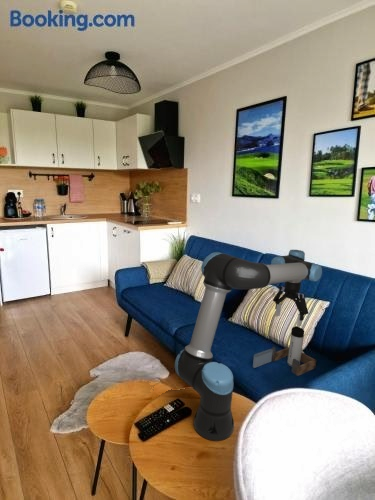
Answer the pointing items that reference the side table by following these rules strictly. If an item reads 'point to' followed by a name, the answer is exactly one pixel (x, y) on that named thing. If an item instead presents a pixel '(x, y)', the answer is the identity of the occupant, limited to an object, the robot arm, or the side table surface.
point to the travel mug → (295, 345)
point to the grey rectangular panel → (262, 358)
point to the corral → (295, 361)
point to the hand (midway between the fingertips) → (287, 320)
